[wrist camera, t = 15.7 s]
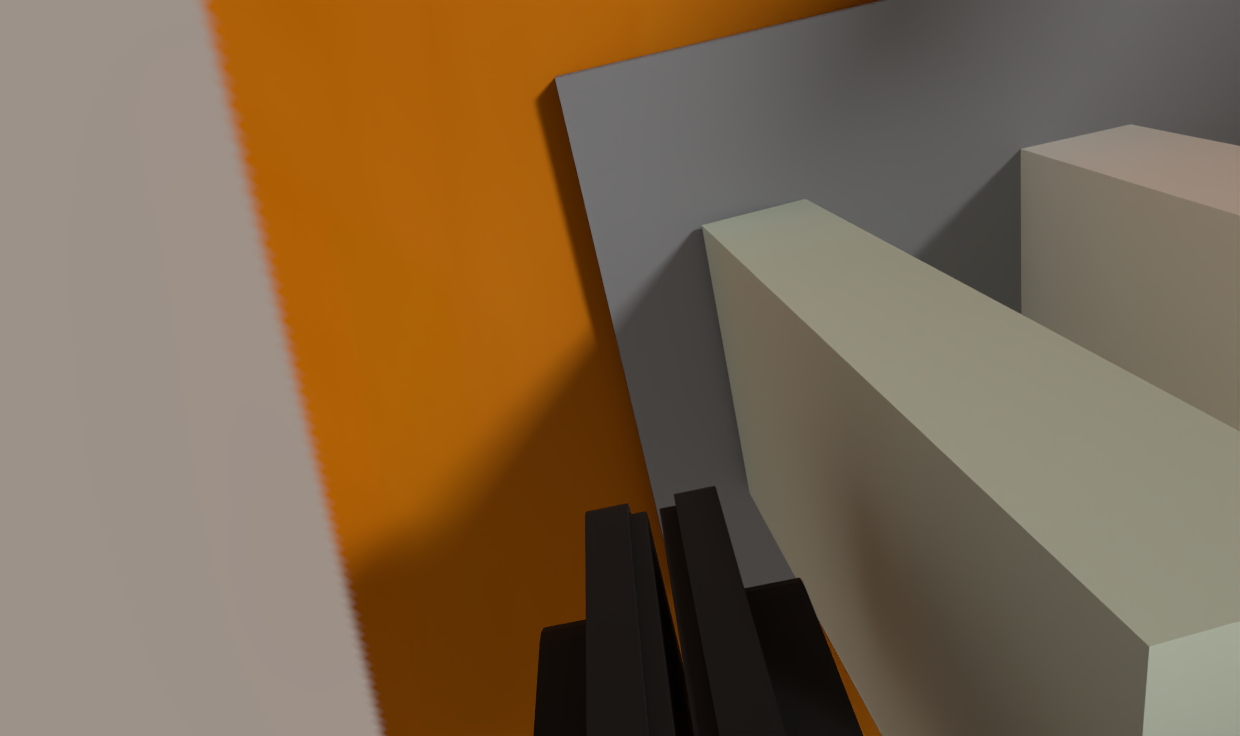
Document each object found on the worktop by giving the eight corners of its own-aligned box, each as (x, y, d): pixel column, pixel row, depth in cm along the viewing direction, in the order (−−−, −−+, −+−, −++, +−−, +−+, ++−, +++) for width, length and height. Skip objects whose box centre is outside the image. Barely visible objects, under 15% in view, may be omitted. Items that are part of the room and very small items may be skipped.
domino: (805, 199, 15) (1472, 556, 5) (838, 469, 17) (1320, 1087, 7) (701, 225, 15) (1148, 647, 5) (749, 493, 17) (1109, 1154, 7)
